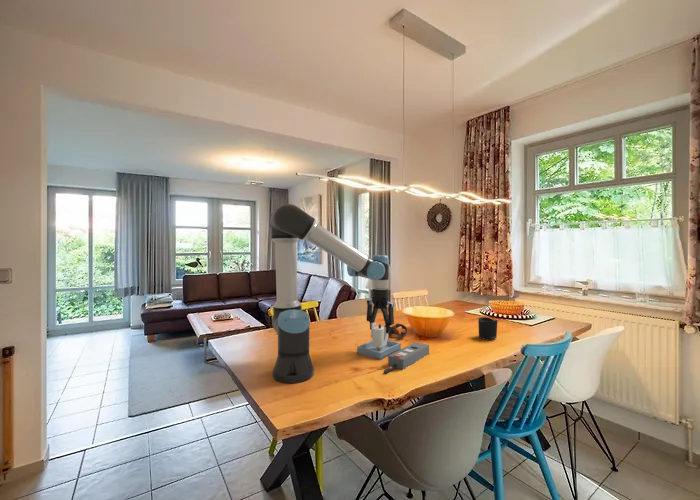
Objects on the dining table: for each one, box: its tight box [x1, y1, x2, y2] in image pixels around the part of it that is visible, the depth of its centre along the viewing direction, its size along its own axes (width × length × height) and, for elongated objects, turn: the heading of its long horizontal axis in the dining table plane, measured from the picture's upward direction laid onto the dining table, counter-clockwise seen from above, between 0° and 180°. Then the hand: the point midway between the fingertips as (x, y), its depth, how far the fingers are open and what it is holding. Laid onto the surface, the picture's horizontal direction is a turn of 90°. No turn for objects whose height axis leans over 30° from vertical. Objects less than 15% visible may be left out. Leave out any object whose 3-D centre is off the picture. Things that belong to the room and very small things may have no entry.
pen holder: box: [477, 316, 498, 340], centre depth 170 cm, size 9×9×10 cm
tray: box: [356, 339, 402, 361], centre depth 146 cm, size 18×13×3 cm
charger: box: [371, 323, 387, 351], centre depth 146 cm, size 6×4×12 cm, turn 142°
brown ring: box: [388, 323, 408, 340], centre depth 169 cm, size 12×10×8 cm
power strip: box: [383, 341, 430, 375], centre depth 133 cm, size 32×7×5 cm, turn 142°
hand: (379, 338), depth 146 cm, fingers open, 6 cm apart
